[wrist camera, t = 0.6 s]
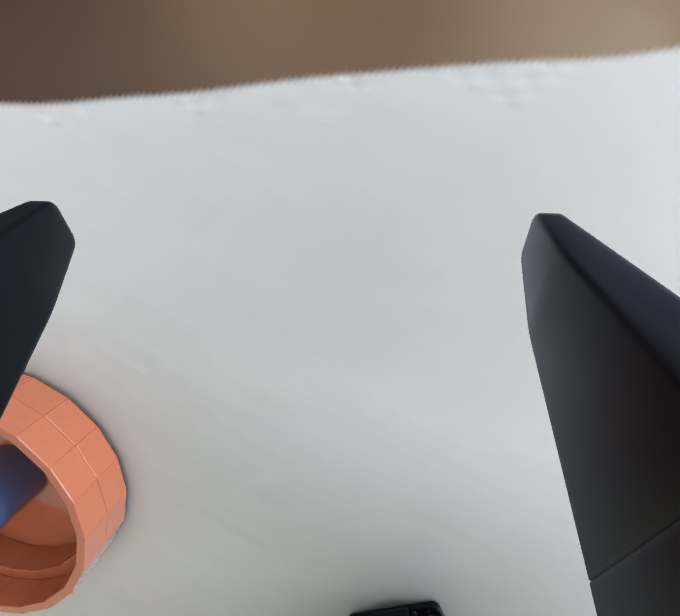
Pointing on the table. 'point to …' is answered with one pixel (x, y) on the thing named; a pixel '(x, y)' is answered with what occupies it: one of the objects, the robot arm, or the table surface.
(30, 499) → the salt shaker
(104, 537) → the bowl
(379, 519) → the table surface
